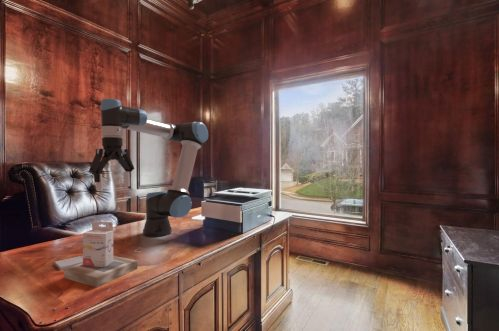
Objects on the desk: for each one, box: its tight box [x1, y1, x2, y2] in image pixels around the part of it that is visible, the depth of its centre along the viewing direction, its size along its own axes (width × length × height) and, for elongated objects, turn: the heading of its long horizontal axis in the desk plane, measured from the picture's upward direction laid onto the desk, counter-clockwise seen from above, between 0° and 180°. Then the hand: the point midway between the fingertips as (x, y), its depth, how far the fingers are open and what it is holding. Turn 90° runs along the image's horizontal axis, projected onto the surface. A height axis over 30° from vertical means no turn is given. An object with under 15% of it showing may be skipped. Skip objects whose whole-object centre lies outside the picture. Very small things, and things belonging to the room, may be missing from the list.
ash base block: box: [63, 255, 138, 288], centre depth 93 cm, size 16×16×3 cm
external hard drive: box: [53, 255, 83, 271], centre depth 103 cm, size 2×8×12 cm
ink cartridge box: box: [82, 221, 114, 267], centre depth 93 cm, size 9×5×15 cm, turn 85°
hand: (114, 188), depth 110 cm, fingers open, 13 cm apart
